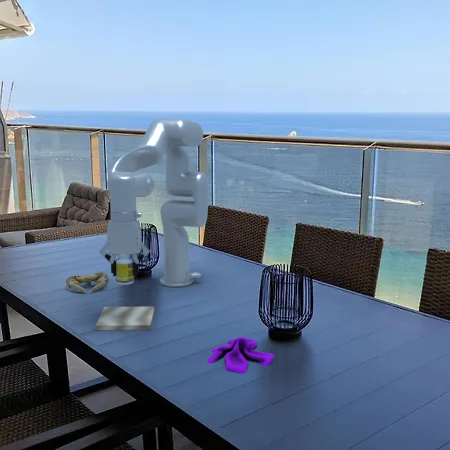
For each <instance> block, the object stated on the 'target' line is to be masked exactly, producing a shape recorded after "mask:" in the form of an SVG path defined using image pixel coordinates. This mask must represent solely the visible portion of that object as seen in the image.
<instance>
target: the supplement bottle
mask: <svg viewBox="0 0 450 450" xmlns="http://www.w3.org/2000/svg"><path fill="white" fill-rule="evenodd" d="M115 260H116V276H115V282H116V283H117V284H118V285H121V286H123V285H125V286H127V285H132V284H133V283H135V276H133V264H134V259H133V257H132V254H120V255H117V257H116V258H115Z"/></svg>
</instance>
